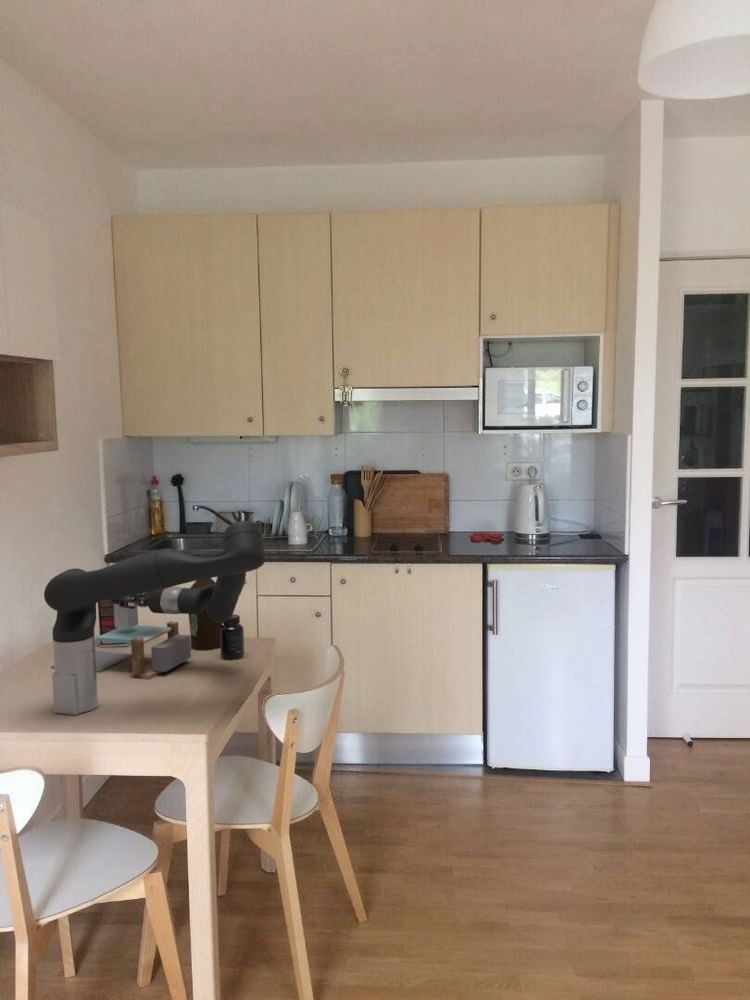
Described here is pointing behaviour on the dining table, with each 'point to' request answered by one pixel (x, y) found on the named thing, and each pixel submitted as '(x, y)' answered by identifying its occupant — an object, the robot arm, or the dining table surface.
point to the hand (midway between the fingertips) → (116, 597)
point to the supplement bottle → (232, 639)
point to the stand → (138, 655)
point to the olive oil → (204, 625)
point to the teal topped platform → (162, 653)
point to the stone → (125, 617)
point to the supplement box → (107, 622)
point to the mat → (107, 659)
